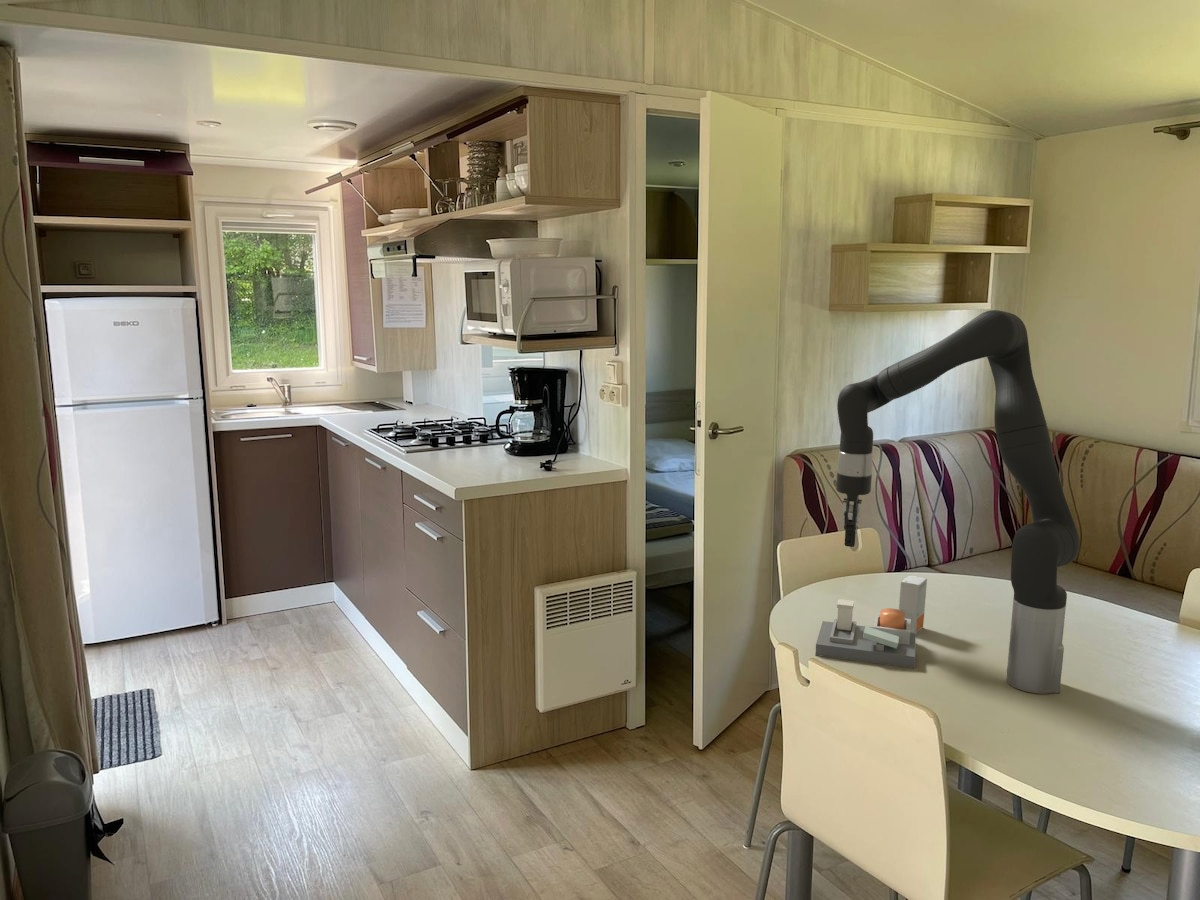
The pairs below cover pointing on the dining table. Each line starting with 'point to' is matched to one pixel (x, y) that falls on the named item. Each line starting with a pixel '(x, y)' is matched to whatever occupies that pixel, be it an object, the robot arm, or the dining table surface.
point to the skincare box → (913, 600)
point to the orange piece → (892, 618)
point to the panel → (867, 644)
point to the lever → (845, 614)
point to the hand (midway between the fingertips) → (849, 545)
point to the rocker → (881, 637)
